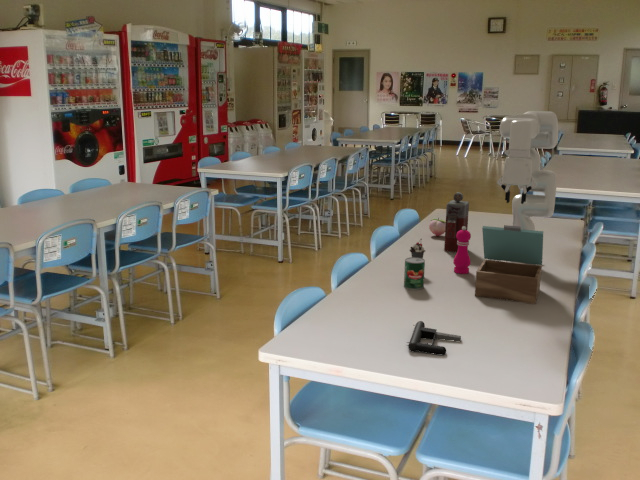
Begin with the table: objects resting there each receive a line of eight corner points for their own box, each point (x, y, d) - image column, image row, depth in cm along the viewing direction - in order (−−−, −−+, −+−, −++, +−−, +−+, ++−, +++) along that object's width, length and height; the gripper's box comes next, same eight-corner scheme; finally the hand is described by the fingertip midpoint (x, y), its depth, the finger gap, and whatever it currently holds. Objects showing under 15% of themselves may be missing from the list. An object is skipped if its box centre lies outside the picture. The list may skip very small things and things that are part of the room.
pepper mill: (470, 274, 270) (473, 228, 266) (452, 273, 272) (455, 227, 267) (469, 270, 277) (472, 224, 272) (452, 268, 279) (455, 224, 274)
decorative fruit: (449, 235, 338) (450, 217, 335) (443, 238, 331) (444, 219, 328) (432, 233, 342) (433, 215, 340) (426, 236, 336) (427, 217, 333)
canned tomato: (411, 290, 250) (412, 263, 247) (399, 285, 257) (400, 258, 254) (427, 287, 254) (429, 261, 251) (416, 282, 260) (417, 256, 258)
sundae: (425, 271, 274) (427, 237, 271) (423, 276, 268) (424, 241, 264) (410, 270, 276) (411, 236, 273) (407, 274, 270) (408, 240, 267)
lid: (484, 259, 258) (484, 257, 258) (541, 265, 249) (542, 263, 250) (482, 225, 243) (482, 223, 244) (543, 230, 235) (543, 228, 236)
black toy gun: (462, 326, 208) (413, 319, 212) (458, 351, 190) (404, 342, 194) (461, 336, 209) (412, 328, 213) (457, 361, 190) (403, 352, 194)
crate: (482, 282, 260) (484, 259, 258) (539, 289, 252) (541, 265, 249) (474, 296, 244) (476, 271, 242) (535, 304, 236) (537, 278, 233)
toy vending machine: (442, 252, 305) (445, 194, 298) (448, 246, 315) (451, 190, 308) (461, 254, 302) (465, 195, 295) (466, 248, 312) (469, 191, 305)
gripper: (493, 154, 236) (490, 202, 240) (542, 156, 229) (537, 206, 234) (497, 152, 242) (493, 199, 247) (544, 154, 236) (539, 202, 240)
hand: (515, 202), depth 240 cm, fingers open, 4 cm apart
